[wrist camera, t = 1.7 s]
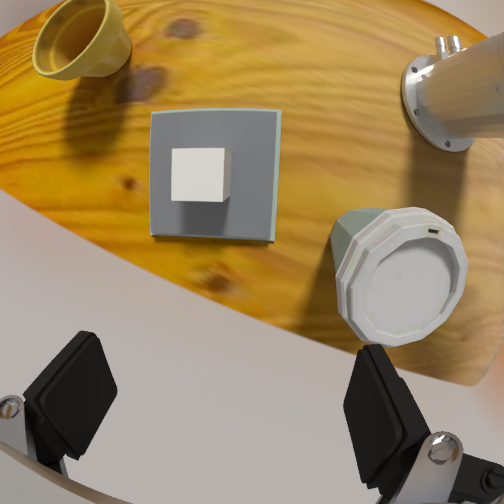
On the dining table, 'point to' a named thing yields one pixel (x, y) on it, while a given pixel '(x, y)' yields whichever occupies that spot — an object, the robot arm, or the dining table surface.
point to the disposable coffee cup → (396, 273)
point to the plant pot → (82, 41)
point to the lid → (212, 173)
